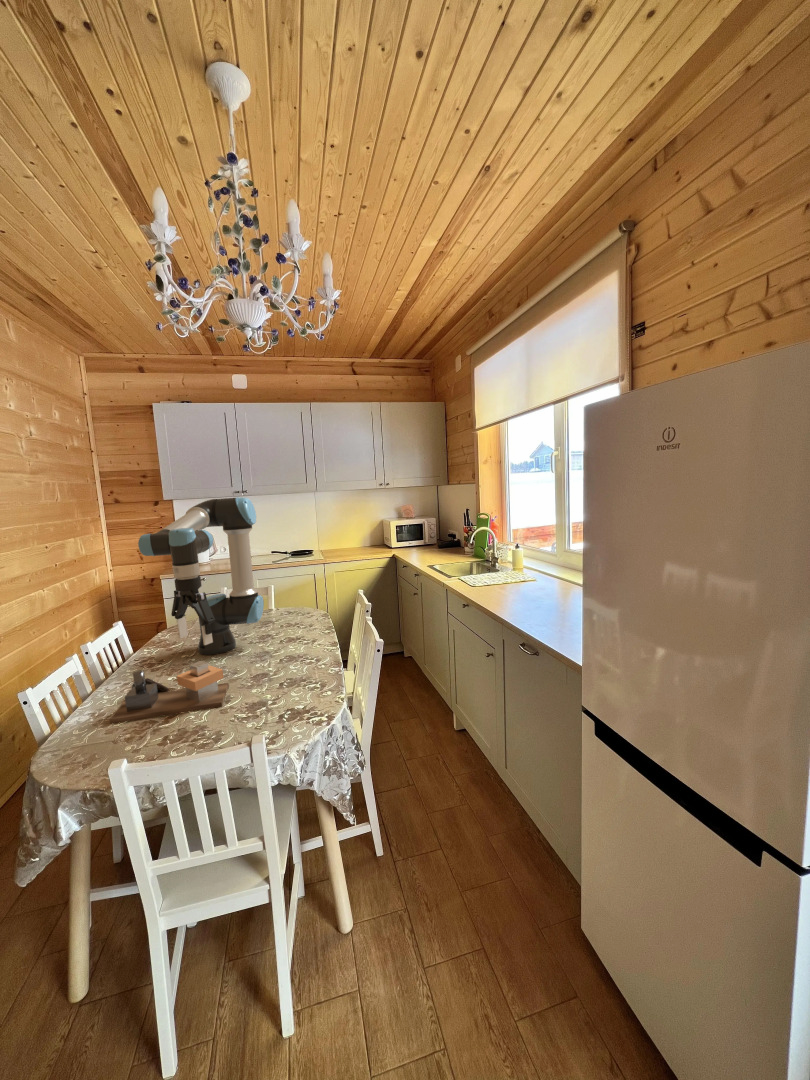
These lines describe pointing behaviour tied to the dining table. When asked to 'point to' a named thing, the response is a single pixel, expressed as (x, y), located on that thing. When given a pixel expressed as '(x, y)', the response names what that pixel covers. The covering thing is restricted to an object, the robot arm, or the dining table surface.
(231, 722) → the dining table surface
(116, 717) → the board
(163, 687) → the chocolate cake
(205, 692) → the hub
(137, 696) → the stand
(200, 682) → the collar
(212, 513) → the robot arm
